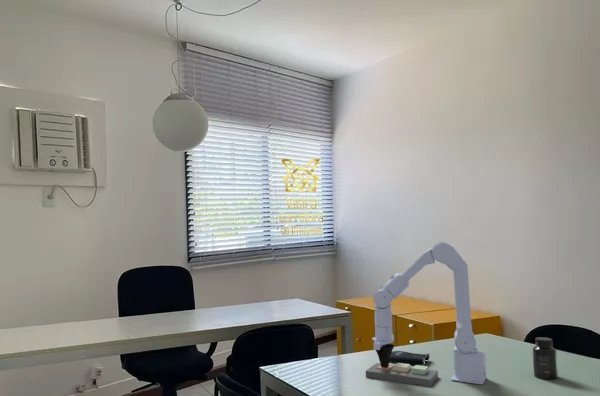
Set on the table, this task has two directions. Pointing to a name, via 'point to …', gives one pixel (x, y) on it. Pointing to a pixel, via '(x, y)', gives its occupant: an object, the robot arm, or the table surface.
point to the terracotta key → (385, 368)
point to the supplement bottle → (545, 359)
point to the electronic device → (408, 358)
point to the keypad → (402, 375)
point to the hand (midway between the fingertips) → (384, 367)
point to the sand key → (402, 367)
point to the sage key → (420, 370)
